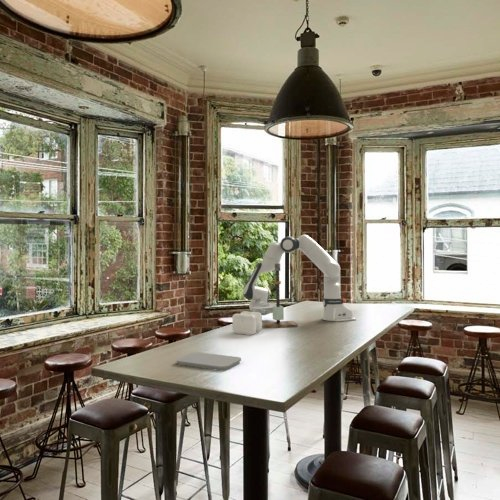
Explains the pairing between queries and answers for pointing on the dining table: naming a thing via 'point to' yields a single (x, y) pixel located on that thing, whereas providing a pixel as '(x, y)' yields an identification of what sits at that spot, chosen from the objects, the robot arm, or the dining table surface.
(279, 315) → the sleeve
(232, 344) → the dining table surface
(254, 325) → the cable organizer
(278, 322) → the stand
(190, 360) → the tablet
